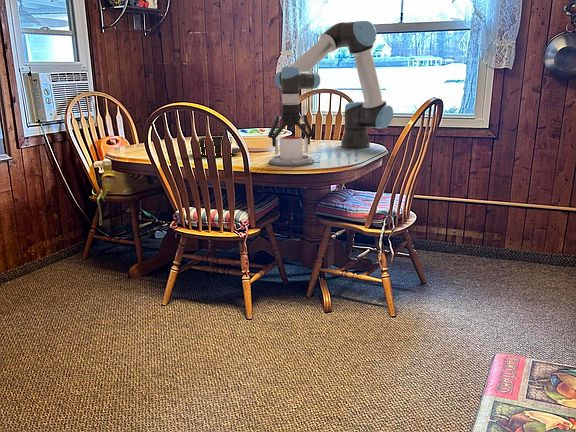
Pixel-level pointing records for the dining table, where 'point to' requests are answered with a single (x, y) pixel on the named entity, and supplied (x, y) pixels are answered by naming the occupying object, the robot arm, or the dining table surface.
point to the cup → (291, 148)
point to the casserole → (217, 145)
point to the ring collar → (291, 161)
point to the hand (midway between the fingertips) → (291, 153)
